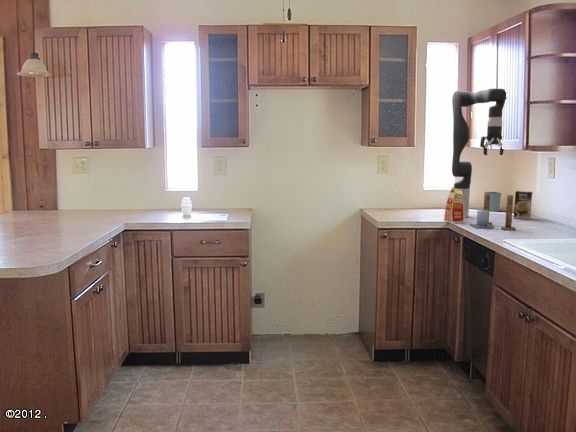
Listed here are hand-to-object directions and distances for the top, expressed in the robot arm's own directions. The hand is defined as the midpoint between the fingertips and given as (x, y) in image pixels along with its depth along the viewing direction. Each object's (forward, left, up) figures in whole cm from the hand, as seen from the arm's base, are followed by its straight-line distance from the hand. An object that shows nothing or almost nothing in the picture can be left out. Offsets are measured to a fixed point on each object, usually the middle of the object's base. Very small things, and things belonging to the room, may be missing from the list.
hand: (493, 155), depth 312 cm
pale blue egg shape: (+13, -9, -37) cm, 40 cm away
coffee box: (-17, +26, -38) cm, 49 cm away
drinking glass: (-51, +21, -38) cm, 67 cm away
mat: (+13, -9, -38) cm, 41 cm away
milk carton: (-6, -18, -38) cm, 43 cm away
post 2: (+21, +2, -38) cm, 44 cm away
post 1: (+5, -4, -38) cm, 39 cm away
